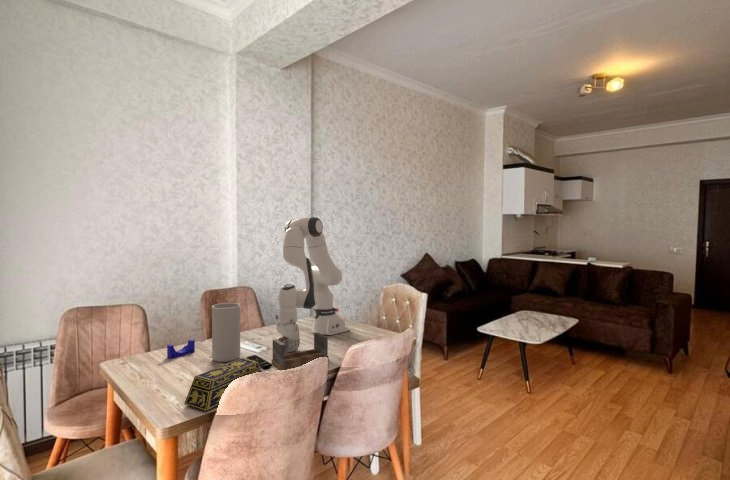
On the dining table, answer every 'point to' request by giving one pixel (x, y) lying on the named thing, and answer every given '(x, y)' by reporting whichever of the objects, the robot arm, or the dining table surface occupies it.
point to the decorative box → (217, 383)
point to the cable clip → (185, 350)
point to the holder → (299, 353)
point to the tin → (289, 349)
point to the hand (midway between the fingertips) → (287, 345)
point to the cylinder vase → (225, 332)
